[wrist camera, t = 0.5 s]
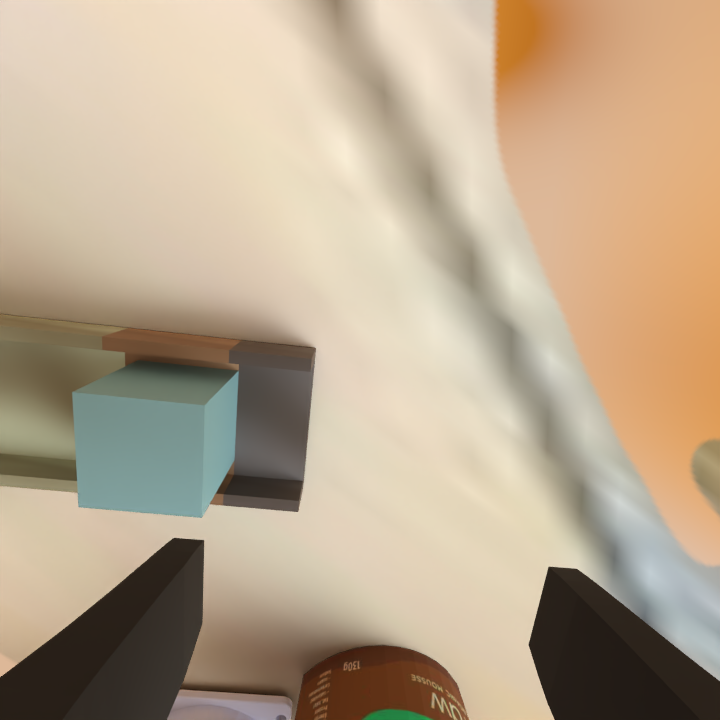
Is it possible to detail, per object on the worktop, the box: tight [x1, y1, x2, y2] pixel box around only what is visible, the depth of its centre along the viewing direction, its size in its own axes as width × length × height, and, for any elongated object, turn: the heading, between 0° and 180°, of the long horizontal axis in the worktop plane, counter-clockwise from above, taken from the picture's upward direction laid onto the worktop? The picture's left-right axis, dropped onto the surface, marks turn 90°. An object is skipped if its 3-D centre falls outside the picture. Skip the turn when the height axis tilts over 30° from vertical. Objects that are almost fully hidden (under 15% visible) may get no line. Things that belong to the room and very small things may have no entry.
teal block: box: [72, 360, 239, 518], centre depth 15 cm, size 4×4×4 cm
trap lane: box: [0, 314, 316, 512], centre depth 16 cm, size 6×16×2 cm, turn 84°
